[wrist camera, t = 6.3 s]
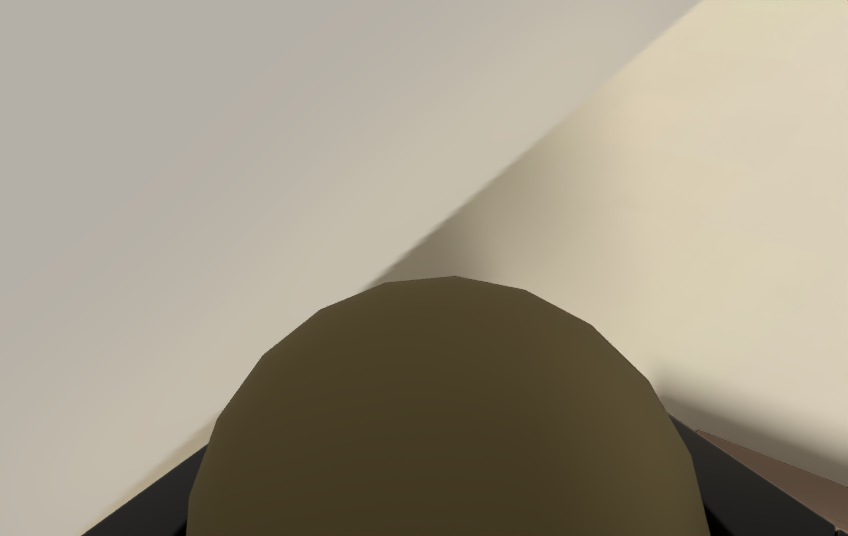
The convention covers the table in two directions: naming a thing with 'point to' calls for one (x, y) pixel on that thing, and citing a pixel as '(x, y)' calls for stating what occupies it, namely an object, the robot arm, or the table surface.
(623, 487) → the olive pawn shaped piece
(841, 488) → the channel board
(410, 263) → the table surface
